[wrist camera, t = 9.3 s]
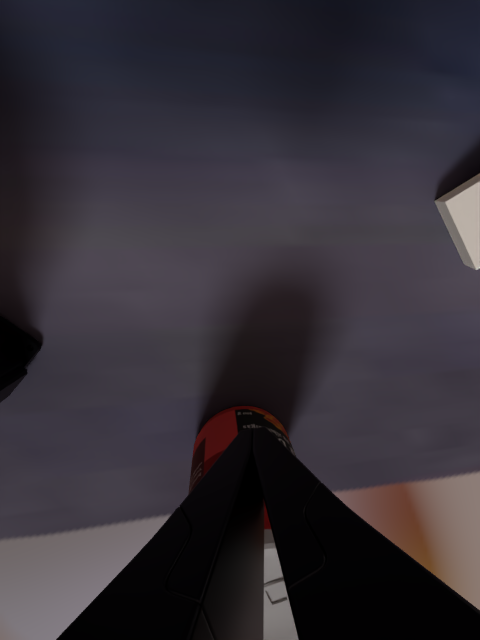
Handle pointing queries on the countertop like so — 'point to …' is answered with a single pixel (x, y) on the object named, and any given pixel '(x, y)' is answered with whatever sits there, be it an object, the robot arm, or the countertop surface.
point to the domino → (463, 219)
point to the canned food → (208, 449)
